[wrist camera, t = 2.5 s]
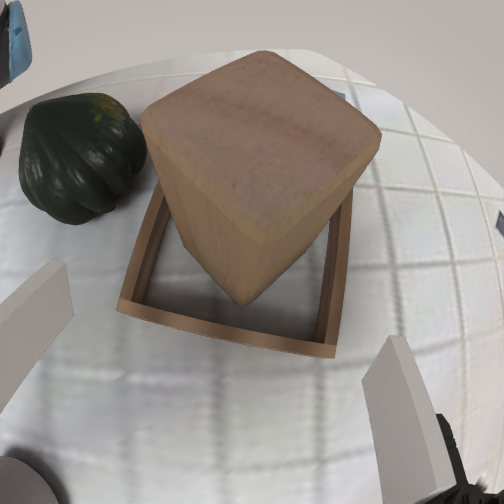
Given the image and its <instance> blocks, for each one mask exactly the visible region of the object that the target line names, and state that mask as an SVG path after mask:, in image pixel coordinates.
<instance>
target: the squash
mask: <svg viewBox="0 0 504 504" xmlns="http://www.w3.org/2000/svg"><path fill="white" fill-rule="evenodd" d="M146 156H147V148H146V141H145V138H144V135H143V134H142V132H141V130H140V129H139V127H138V126H137V125H136V124H135V122H134V121H133V120H132V119H131V118H130V116H129V114H128V112H127V110H126V109H125V108H124V106H123V105H122V104H120V103H119V102H118V101H117V100H115V99H114V98H112V97H111V96H108V95H106V94H102V93H83V94H77V95H70V96H65V97H60V98H55V99H51V100H47V101H43V102H40V103H38V104H36V105H32V106H31V107H30V109H29V113H28V114H27V117H26V120H25V124H24V131H23V138H22V144H21V150H20V157H19V180H20V184H21V188H22V190H23V192H24V194H25V195H26V197H27V198H28V199H29V201H30V202H31V203H32V204H33V205H34V206H36V207H37V208H38V209H40V210H42V211H45V212H47V213H48V214H49V215H50V216H51V217H53V218H54V219H56V220H58V221H60V222H62V223H65V224H71V225H80V224H84V223H86V222H88V221H89V220H91V219H92V218H93V217H94V216H95V215H96V214H97V213H98V212H100V213H108V212H111V211H113V210H114V208H115V207H116V203H117V198H116V195H120V194H125V193H127V192H128V191H129V190H130V189H131V187H132V185H133V176H135V175H136V174H137V173H138V172H139V171H140V170H141V169H142V167H143V165H144V163H145V160H146Z"/></svg>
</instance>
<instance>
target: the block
mask: <svg viewBox="0 0 504 504" xmlns="http://www.w3.org/2000/svg"><path fill="white" fill-rule="evenodd" d="M140 122H141V127H142V131H143V134H144V137H145V140H146V144H147V147H148V149H149V152H150V155H151V158H152V161H153V164H154V167H155V170H156V173H157V176H158V178H159V181H160V184H161V187H162V190H163V192H164V195H165V198H166V201H167V203H168V206H169V209H170V211H171V214H172V217H173V219H174V222H175V225H176V227H177V230H178V232H179V235H180V237H181V240H182V243H183V245H184V247H185V248H186V249H187V250H188V251H189V252H190V253H191V255H192V256H193V257H194V258H195V259H196V260H197V261H198V262H199V264H200V265H201V266H202V267H203V268H204V269H205V270H206V271H207V272H208V274H209V275H210V276H211V277H212V278H213V279H214V280H215V281H216V282H217V283H218V285H219V286H220V287H221V288H222V289H223V290H224V291H225V292H226V293H227V294H228V295H229V296H230V298H231V299H232V300H233V301H234V302H235V303H237V304H239V305H241V306H245V305H248V304H250V303H251V302H252V301H254V300H255V299H256V298H257V297H258V296H259V295H260V294H261V293H262V292H263V291H264V290H266V289H267V288H268V287H269V286H270V285H271V284H272V283H273V282H274V281H275V280H276V279H277V278H278V277H279V276H281V275H282V274H283V273H284V272H285V271H286V270H287V269H288V268H289V267H290V266H291V265H292V264H293V263H294V262H295V261H296V260H298V259H299V258H300V257H301V256H302V255H303V254H304V253H305V252H306V250H307V249H308V248H309V246H310V245H311V244H312V242H313V241H314V240H315V238H316V237H317V236H318V234H319V233H320V232H321V230H322V229H323V228H324V226H325V225H326V223H327V222H328V221H329V219H330V218H331V217H332V215H333V214H334V212H335V211H336V210H337V208H338V207H339V206H340V204H341V203H342V201H343V200H344V199H345V197H346V196H347V194H348V193H349V192H350V190H351V189H352V187H353V186H354V185H355V183H356V182H357V180H358V179H359V177H360V176H361V175H362V173H363V172H364V170H365V169H366V167H367V166H368V165H369V163H370V162H371V160H372V159H373V157H374V156H375V154H376V153H377V151H378V150H379V147H380V142H381V137H382V133H381V132H380V130H379V129H378V127H377V126H376V125H375V124H374V123H373V122H372V121H371V120H369V119H368V118H367V117H366V116H365V115H363V114H362V113H361V112H360V111H358V110H357V109H356V108H355V107H353V106H352V105H351V104H349V103H348V102H347V101H345V100H344V99H343V98H341V97H340V96H339V95H337V94H336V93H335V92H333V91H332V90H331V89H329V88H328V87H326V86H325V85H324V84H322V83H321V82H319V81H318V80H316V79H315V78H314V77H312V76H311V75H309V74H308V73H306V72H305V71H303V70H302V69H300V68H298V67H297V66H295V65H294V64H292V63H291V62H289V61H287V60H286V59H284V58H283V57H281V56H279V55H278V54H276V53H274V52H270V51H257V52H254V53H252V54H249V55H247V56H245V57H242V58H240V59H238V60H235V61H233V62H231V63H229V64H227V65H224V66H222V67H220V68H218V69H216V70H214V71H212V72H210V73H208V74H206V75H204V76H202V77H200V78H198V79H196V80H194V81H192V82H190V83H188V84H187V85H185V86H183V87H181V88H179V89H177V90H176V91H174V92H172V93H170V94H169V95H167V96H165V97H163V98H162V99H160V100H158V101H157V102H155V103H153V104H152V105H150V106H149V107H148V108H147V109H146V110H145V111H144V112H143V113H142V115H141V121H140Z"/></svg>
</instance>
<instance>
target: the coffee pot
mask: <svg viewBox="0 0 504 504" xmlns="http://www.w3.org/2000/svg"><path fill="white" fill-rule="evenodd" d="M0 504H58V501H57V499H56V497H55V494H54V493H53V491H52V489H51V488H50V486H49V485H48V483H47V482H46V481H45V480H44V478H42V477H41V476H40V475H39V474H38V473H37V472H36V471H35V470H34V469H32V468H31V467H29V466H28V465H27V464H25V463H24V462H22V461H20V460H18V459H15V458H11V457H6V456H1V457H0Z"/></svg>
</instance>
